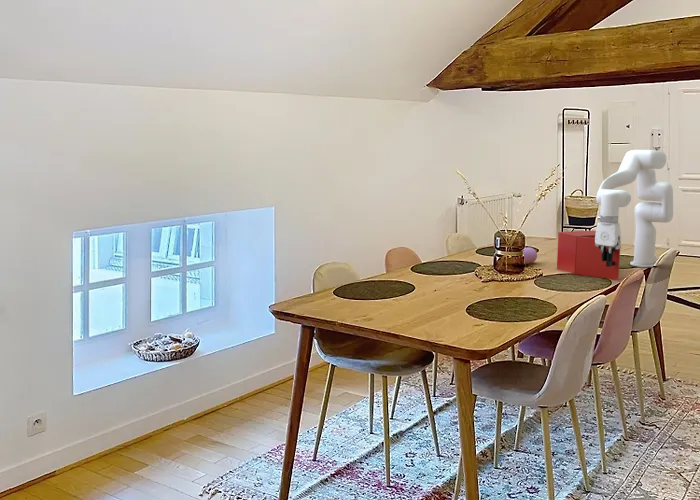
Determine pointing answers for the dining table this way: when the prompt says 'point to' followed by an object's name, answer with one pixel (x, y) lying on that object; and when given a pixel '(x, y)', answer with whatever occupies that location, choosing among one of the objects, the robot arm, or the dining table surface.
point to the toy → (529, 255)
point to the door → (595, 260)
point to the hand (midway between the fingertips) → (606, 260)
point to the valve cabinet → (569, 249)
